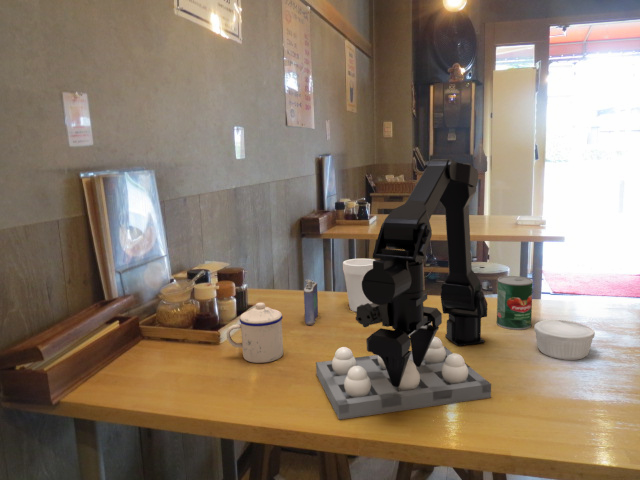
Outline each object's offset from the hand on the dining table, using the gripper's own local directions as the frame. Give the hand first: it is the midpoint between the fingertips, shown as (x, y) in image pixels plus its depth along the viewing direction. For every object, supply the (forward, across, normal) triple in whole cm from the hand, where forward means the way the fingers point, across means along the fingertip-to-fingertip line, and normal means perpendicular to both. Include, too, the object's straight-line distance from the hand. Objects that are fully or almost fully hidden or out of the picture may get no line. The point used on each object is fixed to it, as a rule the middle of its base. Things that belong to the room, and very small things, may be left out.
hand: (406, 375), depth 91 cm
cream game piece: (+3, 0, 0) cm, 3 cm away
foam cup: (+4, -41, -31) cm, 52 cm away
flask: (+4, -27, -38) cm, 47 cm away
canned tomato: (+4, -46, +8) cm, 47 cm away
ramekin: (+4, -34, +20) cm, 39 cm away
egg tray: (+4, -3, -3) cm, 6 cm away
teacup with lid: (+4, -2, -36) cm, 36 cm away
